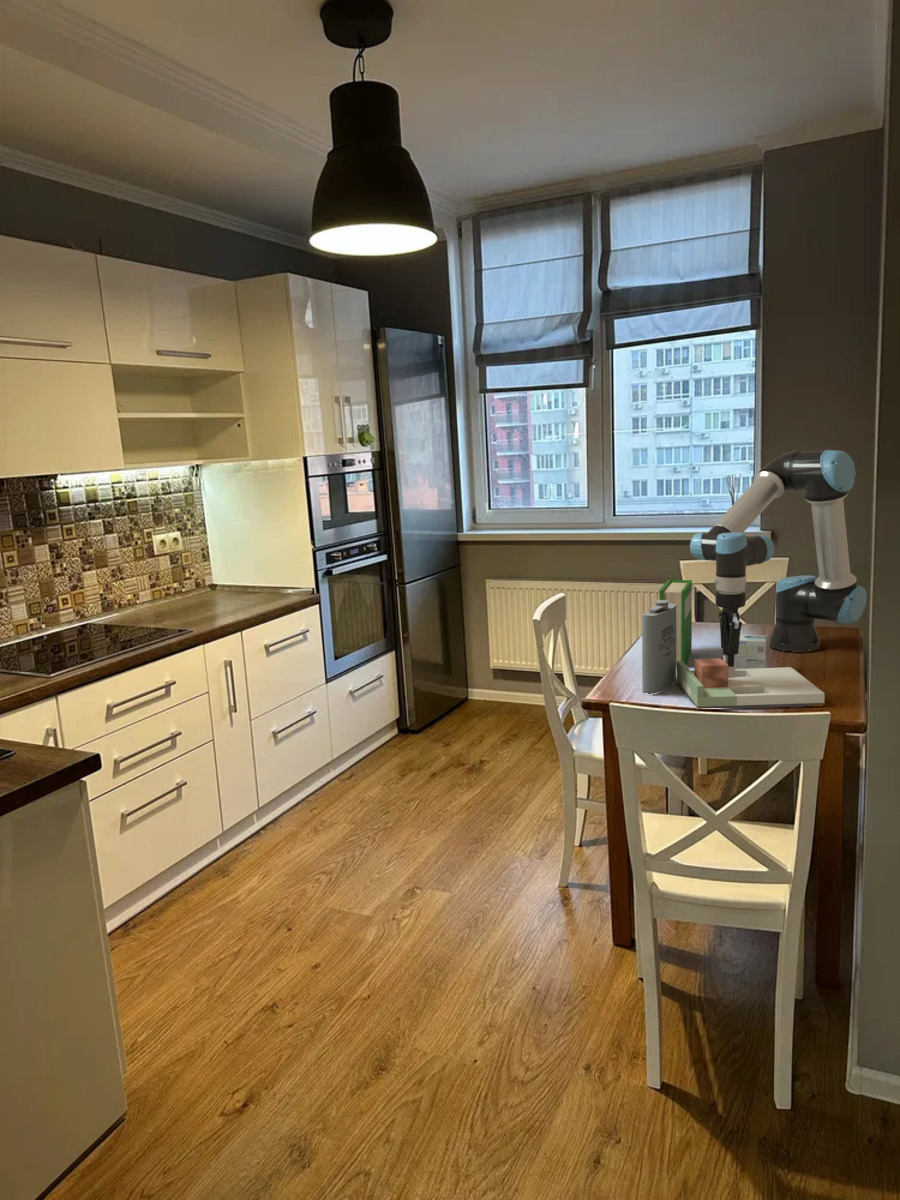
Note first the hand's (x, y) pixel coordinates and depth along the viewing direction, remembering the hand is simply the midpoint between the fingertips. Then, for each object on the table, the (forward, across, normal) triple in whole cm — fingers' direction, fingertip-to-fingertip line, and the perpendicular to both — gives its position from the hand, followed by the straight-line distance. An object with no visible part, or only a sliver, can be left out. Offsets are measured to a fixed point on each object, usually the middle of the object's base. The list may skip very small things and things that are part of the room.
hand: (729, 676), depth 221 cm
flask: (+5, -9, -16) cm, 19 cm away
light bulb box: (+5, -20, +11) cm, 23 cm away
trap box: (+5, 0, +5) cm, 7 cm away
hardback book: (+5, -36, -6) cm, 37 cm away
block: (+2, +1, -5) cm, 5 cm away
